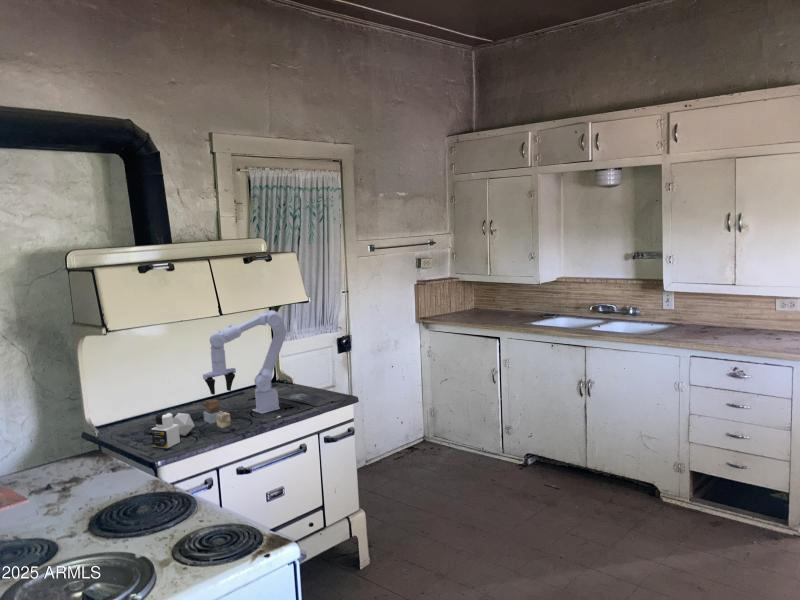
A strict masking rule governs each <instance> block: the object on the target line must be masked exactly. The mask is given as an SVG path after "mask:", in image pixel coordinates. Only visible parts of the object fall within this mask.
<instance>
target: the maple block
mask: <svg viewBox="0 0 800 600" xmlns="http://www.w3.org/2000/svg"><path fill="white" fill-rule="evenodd" d="M222 412H223V413H220V414H216V420H217V422H216V427H218V428H221V429H223V428H227V427H231V426H232V425H231V424H232V423H231V414H230V413H229V412H225V411H222Z"/></svg>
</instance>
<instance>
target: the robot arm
mask: <svg viewBox="0 0 800 600" xmlns="http://www.w3.org/2000/svg"><path fill="white" fill-rule="evenodd" d="M284 322H285V321H284V319H283V317H282V316H281V315H280V314H279V312H277V311H276V310H273V309H271V310H268V311H267V312H262V313H260V314H258V315H256V316H254V317H251V318H250V319H249V320H247V321H245V322H243V323H241V324H240V325H237V324H233V325H232V324H229V325H228V327H226V328H225V329H222V330H220V329H219V330H218V332H215V333H212V334H211V335H210V337H209V339H208V340H209V344H210V345H211V346H210V358H211V371H210V372H207V373H203V374H202V379H203V380H204V382H205V383H206V385H207V386H208V389H209V391H210V395H212V396H214V395H215V394H216V390H215V383H216V379H214V378H217V377H220V376H224V379H225V384H226V385H225V386H226V390H227V391H229V392H230V391H231V390H232V385H233V383H234V382H233V381H234V380H235V378H236V368H235V367H230V368H227V364H226V363H227V362H226V351H225V344H227V343H229V342H232V341H234V340H237V339H238V338H240V337H241V335H242V333H244V332H246V331H248V330H250V329H252V328H255V327H257V326H267V325H268V326H270V328H271V330H272V332H273V336H272V339H271V342H270V344H269V348H268V351H267V353H266V356H265V359H264V361H263V364H262V367H261V369H260V370H259V372H258V374H257V375H256V376H255V377H254V385H255V386H256V388H255V389H254V395H255V398H254V399H255V407H256V408H252V411H253V412H254V413H255V412H256V413H259V414H266V413H269V412H274V411H277V410H280V408H281V407H280V405H279V404H280V403H279V394H278V391H277V389H276V388H274V387H273V388H272V379H273V373H274V369H275V366H276V363H277V361H278V358H279V355H280V352H281V350H282V347H283V344H284V341H285V338H286V336H287V331H286V330H287V329H286V326H285V323H284Z"/></svg>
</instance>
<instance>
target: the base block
mask: <svg viewBox="0 0 800 600" xmlns="http://www.w3.org/2000/svg"><path fill="white" fill-rule="evenodd" d="M223 412H224V411H223V410H220V412H217V413H213V414H209V413H206V410H205V411H203V413H202V414H203V421H204V422H206V423H208V424H215V423H217V420H216V414H220V413H223Z"/></svg>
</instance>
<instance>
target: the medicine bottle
mask: <svg viewBox="0 0 800 600" xmlns="http://www.w3.org/2000/svg"><path fill="white" fill-rule="evenodd" d="M173 416H174V415H173V414H172V413H171V412H161V413H158V414H156V415H155V427H153V428H151V443H152V447H153V448H162V449H169V448H172V447H174V446H175V445H177V444H179V443H181V438H180V436H181V435H179V425H178V424H173V418H174V417H173Z"/></svg>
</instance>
